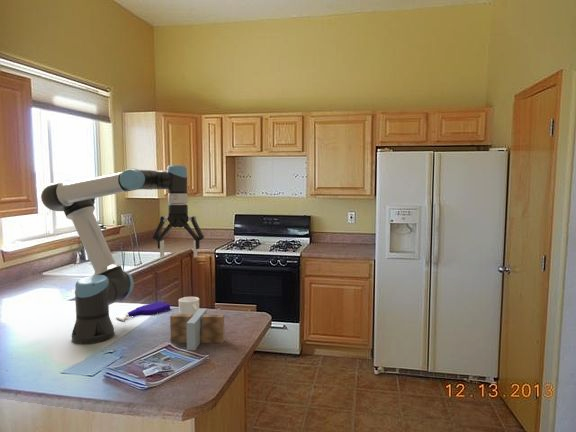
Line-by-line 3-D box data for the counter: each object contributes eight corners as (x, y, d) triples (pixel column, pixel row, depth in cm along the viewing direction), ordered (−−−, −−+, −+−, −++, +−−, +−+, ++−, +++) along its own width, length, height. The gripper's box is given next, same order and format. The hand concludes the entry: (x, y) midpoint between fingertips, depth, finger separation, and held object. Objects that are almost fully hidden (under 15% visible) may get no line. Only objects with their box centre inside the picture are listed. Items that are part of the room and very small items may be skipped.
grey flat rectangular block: (186, 350, 151) (186, 323, 150) (199, 332, 169) (199, 308, 168) (195, 350, 151) (194, 323, 150) (207, 333, 168) (206, 308, 168)
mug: (188, 330, 172) (188, 304, 171) (175, 323, 181) (175, 298, 180) (207, 326, 177) (206, 301, 176) (193, 319, 186) (193, 295, 186)
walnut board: (170, 342, 159) (170, 316, 158) (173, 339, 162) (172, 313, 161) (222, 343, 158) (222, 317, 157) (224, 340, 161) (224, 314, 160)
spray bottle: (159, 300, 207) (111, 313, 188) (172, 304, 200) (124, 317, 181) (159, 306, 207) (112, 319, 188) (172, 310, 200) (124, 324, 181)
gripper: (143, 204, 163) (144, 258, 165) (206, 204, 162) (207, 258, 164) (150, 203, 171) (151, 255, 172) (211, 204, 170) (211, 255, 171)
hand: (178, 257), depth 168 cm, fingers open, 13 cm apart
